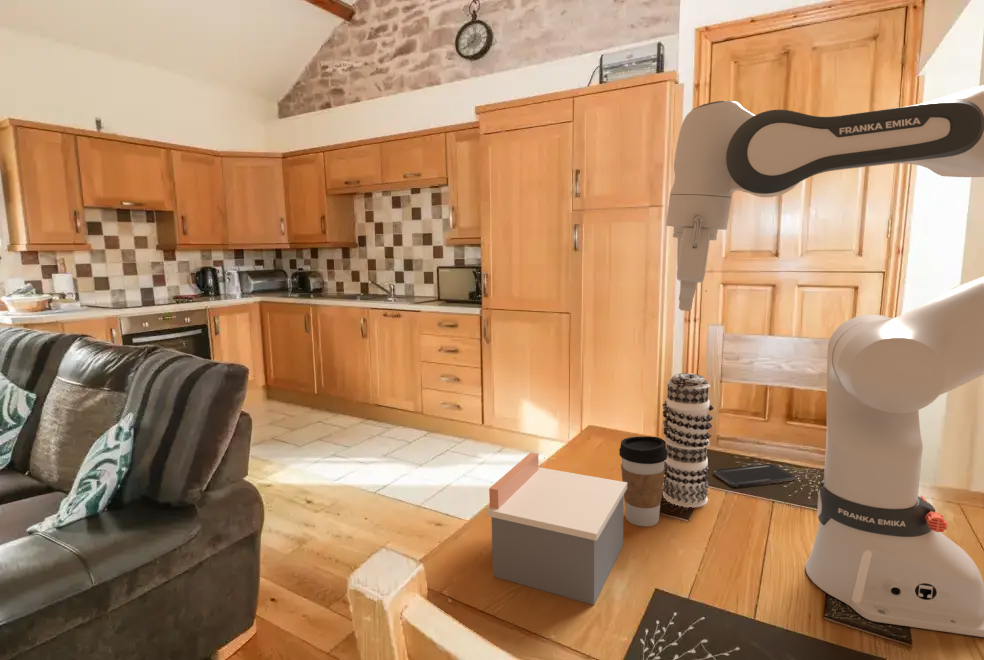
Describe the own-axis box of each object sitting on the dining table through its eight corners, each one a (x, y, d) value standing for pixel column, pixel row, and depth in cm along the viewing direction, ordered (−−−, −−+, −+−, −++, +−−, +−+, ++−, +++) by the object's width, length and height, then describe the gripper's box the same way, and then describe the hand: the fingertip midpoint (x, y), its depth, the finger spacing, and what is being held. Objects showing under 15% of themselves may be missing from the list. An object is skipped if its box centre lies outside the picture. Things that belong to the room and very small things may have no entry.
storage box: (623, 545, 90) (623, 489, 88) (594, 605, 75) (594, 538, 73) (535, 525, 97) (534, 473, 96) (493, 576, 82) (491, 515, 81)
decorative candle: (673, 483, 113) (676, 368, 109) (717, 496, 106) (721, 374, 103) (652, 498, 106) (654, 376, 103) (697, 513, 100) (701, 383, 96)
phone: (711, 470, 117) (771, 463, 120) (711, 475, 117) (771, 468, 120) (734, 485, 110) (797, 477, 112) (734, 490, 110) (797, 482, 112)
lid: (627, 488, 88) (627, 465, 88) (596, 540, 73) (596, 513, 72) (533, 471, 96) (532, 450, 96) (486, 515, 80) (486, 490, 80)
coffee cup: (668, 532, 94) (670, 450, 91) (619, 528, 95) (619, 448, 93) (663, 509, 102) (664, 434, 100) (618, 506, 103) (618, 432, 101)
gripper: (724, 216, 70) (709, 318, 73) (715, 219, 89) (703, 300, 92) (674, 213, 72) (661, 312, 75) (676, 216, 91) (665, 296, 94)
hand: (684, 305), depth 84 cm, fingers open, 8 cm apart
